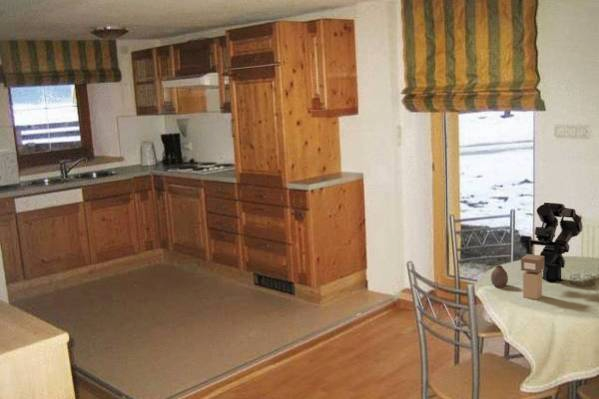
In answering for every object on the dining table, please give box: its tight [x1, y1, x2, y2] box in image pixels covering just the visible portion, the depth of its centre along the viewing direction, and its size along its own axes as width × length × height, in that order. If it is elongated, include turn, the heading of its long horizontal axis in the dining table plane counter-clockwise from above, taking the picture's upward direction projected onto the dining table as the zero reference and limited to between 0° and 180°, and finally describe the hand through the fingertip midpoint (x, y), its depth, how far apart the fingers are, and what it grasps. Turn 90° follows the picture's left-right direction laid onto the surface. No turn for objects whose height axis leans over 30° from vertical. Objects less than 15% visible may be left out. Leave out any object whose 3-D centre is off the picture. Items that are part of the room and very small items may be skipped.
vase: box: [490, 264, 509, 288], centre depth 270 cm, size 7×7×9 cm
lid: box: [520, 253, 544, 273], centre depth 253 cm, size 7×7×5 cm
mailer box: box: [522, 270, 543, 300], centre depth 255 cm, size 6×6×10 cm
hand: (539, 261), depth 259 cm, fingers open, 9 cm apart
